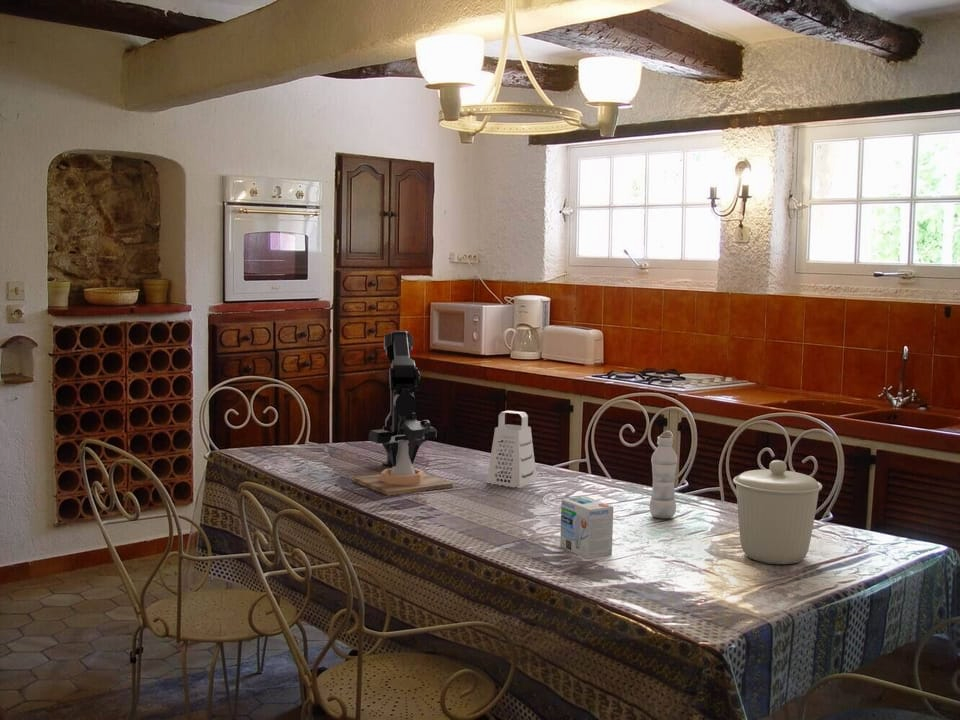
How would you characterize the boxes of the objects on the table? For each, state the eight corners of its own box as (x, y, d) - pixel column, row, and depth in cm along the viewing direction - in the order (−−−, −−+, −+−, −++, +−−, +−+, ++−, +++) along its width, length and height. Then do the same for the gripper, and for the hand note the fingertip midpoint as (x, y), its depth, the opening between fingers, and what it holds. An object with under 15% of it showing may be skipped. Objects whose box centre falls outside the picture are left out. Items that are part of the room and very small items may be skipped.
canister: (836, 567, 209) (841, 467, 207) (759, 573, 204) (764, 470, 202) (786, 543, 226) (790, 450, 224) (714, 549, 221) (718, 454, 219)
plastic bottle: (646, 519, 245) (649, 438, 243) (651, 513, 252) (654, 434, 250) (673, 522, 243) (676, 440, 241) (677, 516, 249) (680, 436, 248)
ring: (375, 478, 280) (375, 470, 280) (409, 474, 287) (409, 466, 286) (395, 486, 271) (395, 477, 271) (430, 481, 278) (430, 473, 277)
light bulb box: (558, 546, 221) (560, 498, 220) (584, 543, 224) (585, 495, 223) (587, 559, 211) (588, 509, 210) (613, 555, 215) (614, 506, 214)
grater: (519, 488, 277) (521, 416, 275) (486, 483, 283) (487, 412, 281) (536, 481, 286) (538, 411, 284) (504, 476, 292) (505, 408, 290)
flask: (414, 479, 275) (415, 443, 274) (388, 479, 275) (388, 443, 274) (416, 474, 282) (417, 438, 282) (390, 473, 283) (391, 438, 282)
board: (353, 481, 282) (353, 477, 281) (414, 474, 293) (414, 470, 293) (388, 496, 265) (388, 491, 265) (452, 487, 277) (452, 483, 277)
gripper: (388, 415, 265) (387, 474, 267) (447, 410, 276) (446, 466, 277) (367, 409, 274) (367, 466, 276) (426, 405, 285) (425, 459, 286)
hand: (402, 465), depth 279 cm, fingers closed on flask, 5 cm apart
